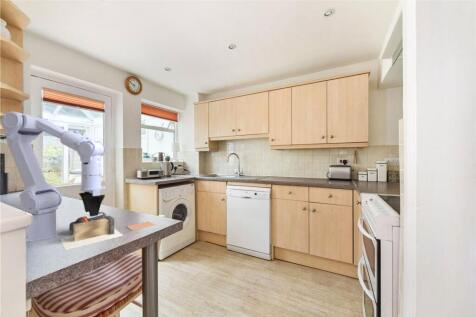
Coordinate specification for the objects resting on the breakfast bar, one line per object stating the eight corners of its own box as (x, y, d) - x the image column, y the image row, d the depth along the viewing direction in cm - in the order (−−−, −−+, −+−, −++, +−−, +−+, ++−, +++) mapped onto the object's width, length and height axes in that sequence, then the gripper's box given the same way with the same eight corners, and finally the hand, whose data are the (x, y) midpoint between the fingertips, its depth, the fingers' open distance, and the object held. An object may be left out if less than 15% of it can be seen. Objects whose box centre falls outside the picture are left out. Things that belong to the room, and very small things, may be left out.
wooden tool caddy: (75, 243, 66) (75, 226, 66) (72, 237, 71) (72, 222, 71) (114, 233, 75) (114, 218, 75) (109, 229, 79) (109, 215, 79)
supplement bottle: (108, 227, 83) (77, 237, 72) (98, 224, 85) (67, 234, 75) (108, 212, 83) (77, 221, 72) (98, 210, 85) (67, 218, 75)
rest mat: (65, 251, 62) (65, 249, 62) (60, 240, 70) (60, 238, 70) (123, 236, 73) (123, 235, 73) (113, 228, 81) (113, 227, 81)
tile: (131, 230, 78) (154, 224, 84) (126, 226, 82) (148, 221, 89) (131, 233, 78) (154, 227, 84) (126, 229, 82) (148, 224, 89)
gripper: (110, 175, 70) (110, 215, 70) (99, 173, 80) (99, 208, 80) (85, 177, 65) (85, 219, 65) (77, 174, 75) (77, 211, 75)
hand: (91, 213), depth 72 cm, fingers open, 7 cm apart
